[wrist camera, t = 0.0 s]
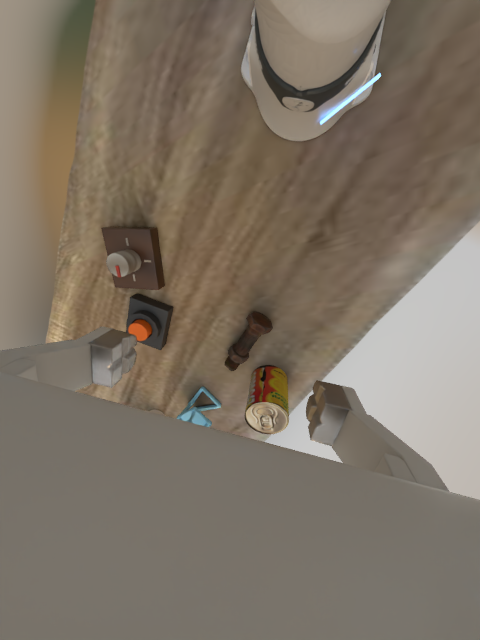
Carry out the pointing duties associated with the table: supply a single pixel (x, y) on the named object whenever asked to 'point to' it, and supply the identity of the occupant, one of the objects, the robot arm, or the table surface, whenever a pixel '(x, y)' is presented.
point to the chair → (195, 414)
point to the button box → (151, 318)
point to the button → (140, 329)
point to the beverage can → (268, 400)
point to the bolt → (247, 340)
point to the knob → (123, 262)
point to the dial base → (145, 247)
